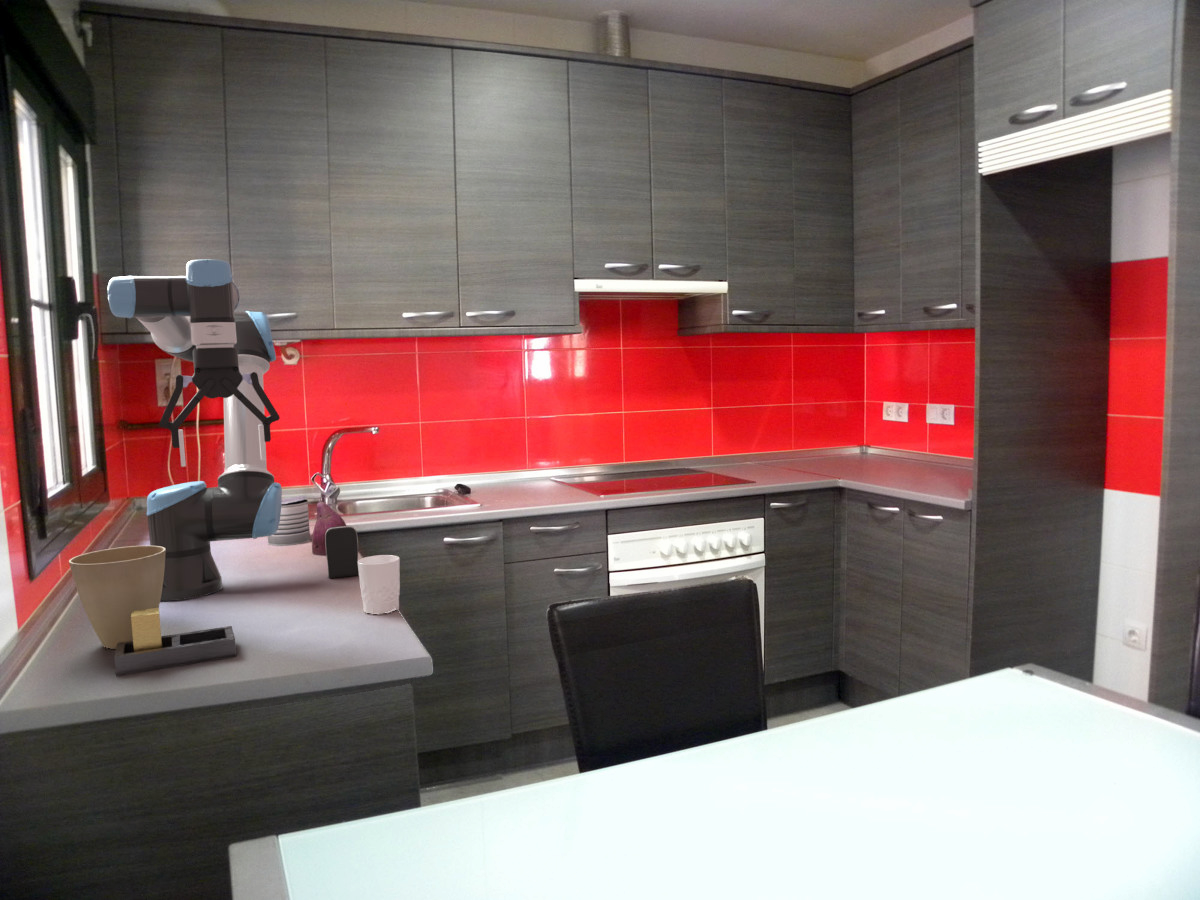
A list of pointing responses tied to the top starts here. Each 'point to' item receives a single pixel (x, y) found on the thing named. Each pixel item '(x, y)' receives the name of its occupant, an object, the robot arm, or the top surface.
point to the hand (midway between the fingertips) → (224, 462)
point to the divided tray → (177, 651)
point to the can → (292, 523)
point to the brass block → (146, 629)
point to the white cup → (379, 583)
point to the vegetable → (324, 526)
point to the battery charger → (342, 551)
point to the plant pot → (118, 587)
